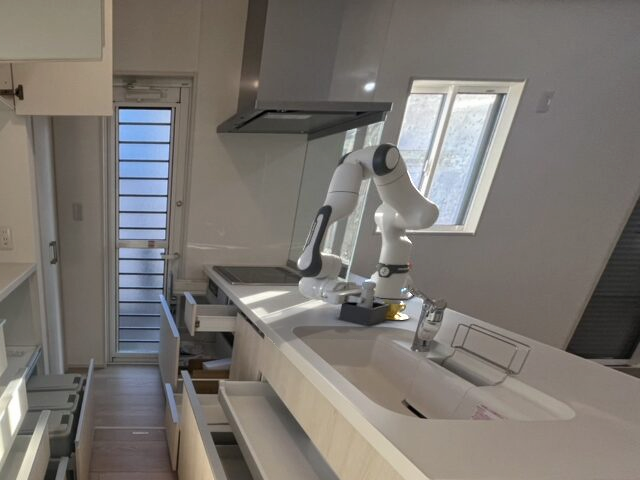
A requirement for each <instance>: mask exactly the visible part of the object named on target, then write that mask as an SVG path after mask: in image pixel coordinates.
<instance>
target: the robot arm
mask: <svg viewBox="0 0 640 480" xmlns="http://www.w3.org/2000/svg"><path fill="white" fill-rule="evenodd" d="M369 179H372V180H373V183H374V185H375V187H376V191H377V192H378V195H379V198H380V200H381V201H382V202H383V203H381V204H380V205H379V206H378V207H377V208H376V210H375V213H374V217H373V218H374V223H375V225H376V226H377V227H378V228H379V230H380V234H381V240H382V241H381V243H382V244H381V250H380V255H379V259H378V261H377V264H376V265H375V272H374V273H372V275H371V277H370V279H366V280H365V281H373V282H375V283H376V288H375V289H373V302H376V300H377V298H380V299H381V298H382V299H389V300H392V299H393V300H396V299H397V300H398V299H399V300H409V299H411V298H412V297H413V295H412V294H411V293H410V290H411V291H412V289H413V288H412V287H413V283H414V281H413V279H412V277H411V275H410V274H409V272H410V269H412V267H413V263H410V262H409V261H410V258H411V254H412V252H413V243H412V242H411V240H410V239H408V236H407V230H408V231H419V230H426V229H430V228H431V227H433V226H434V224H435V223H436V222H437V221H438V219H439V216H440V208H439V206H438V204H437V203H435V202H433V201H431V200H429V199H428V198H427V197H425V196H424V195H423V194H422V193H421V192H420V191H419V190H418V188H417V187H416V186H415V183H413V181H412V178H411V175H410V172H409V170H408V167H407V164H406V162H405V159H404V158H403V156H402V154H401V152H400V150H399V148H398V147H397V145H396V144H394V143H390V142H385V143H384V142H383V143H381V144H374V145H369V146H365V147H363V148H360V149H357V150H354V151H349V152H347V153H345V154H344V155H342V156H341V157H340V158H339V160H338V162H337V165H336V169H335V170H334V173H333V175H332V178H331V180H330V183H329V187H328V190H327V194H326V197H325V200H324V203H323V205H322V207H320V208H319V209H318V210H317V212H316V214H315V216H314V218H313V221H312V223H311V226H310V230H309V233H308V235H307V238H306V242H305V244H304V246H303V249H302V251H301V253H300V255H299V256H298V258H297V261H296V270H297V273H298V274H299V276H301V277H302V278H301V279H300V280H299V282H298V291H299V292H300V294H301V295H303V296H304V297H306V298H309V299H312V300H315V301H322V302H324V303H327V304H332V305H337V306H338V305H342V304H344V303H350V302H357V303H363V300H364V298H362V297H360V296H361V294H362V291H363V289H364V288H362V284H357V282H354V281H344V280H338V279H339V276H340V273H341V271H342V268H343V260H342V258H341V257H340V256H339V255H337V254H333V253H330V252H329V253H328V252H323V251H322V247H323V245H324V241H325V239H326V235H327V233H328V230H329V229H330V227H331V226H332V225H333V224H335V223H337V222H340V221H343V220H345V219H347V218H348V217H350V216H352V215H353V213H354V212H355V210H356V208H357V206H358V203H359V199H360V195H361V192H362V191H361V190H362V185H363V181H367V180H369Z"/></svg>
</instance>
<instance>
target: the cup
mask: <svg viewBox="0 0 640 480" xmlns="http://www.w3.org/2000/svg"><path fill="white" fill-rule="evenodd" d="M382 304H388V305H389V308H388V312H387V315H386V319H385V320H392V321H393V320H395V321H404V320H409V318H410V316H409V315H407V314H404V313H402V312H404V311H405V310H406V309H407V304H405V303H404V302H403V301H399V300H395V299H393V300H392V299H384V300H383V301H382Z"/></svg>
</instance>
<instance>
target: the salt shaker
mask: <svg viewBox="0 0 640 480" xmlns="http://www.w3.org/2000/svg"><path fill="white" fill-rule="evenodd" d="M361 285H362V288H364V289H363V291H362V294H361V296H360V297H362V298H364V300H363V303H357V305H356V306H359V307H364V308H369V309H372V308H373V302H374V301H373V289H375V288H376V283H375V282H373V281H366V280H365V281H364V282H362V284H361Z"/></svg>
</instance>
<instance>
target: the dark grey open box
mask: <svg viewBox="0 0 640 480" xmlns="http://www.w3.org/2000/svg"><path fill="white" fill-rule="evenodd" d="M340 305H341V306H340V311H339V316H338V320H341V321H344V322H345V321H346V322H350V323H354V324H357V325H362V326H367V327H368V326H369V327H370V326H372V325H375V324H378V323H382V322H385V321H386V320H387V319H386V315H387V312H388V308H389V305H388V304H383V302H376V301H373V308H372V309H369V308H364V307H359V306H356V305H357V302H350V303H344V304H340Z"/></svg>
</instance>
